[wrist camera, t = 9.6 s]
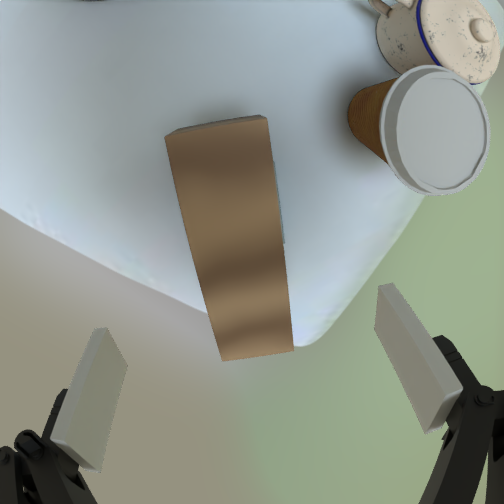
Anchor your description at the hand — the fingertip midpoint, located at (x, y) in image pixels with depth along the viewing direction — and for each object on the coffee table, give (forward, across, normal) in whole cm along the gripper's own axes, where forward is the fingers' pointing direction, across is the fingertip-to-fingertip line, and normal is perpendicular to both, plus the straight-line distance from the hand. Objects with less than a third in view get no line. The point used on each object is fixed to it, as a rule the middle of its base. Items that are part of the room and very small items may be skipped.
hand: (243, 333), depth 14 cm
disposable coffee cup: (+19, +15, +7) cm, 25 cm away
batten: (+12, 0, 0) cm, 13 cm away
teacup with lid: (+19, +19, +16) cm, 31 cm away
